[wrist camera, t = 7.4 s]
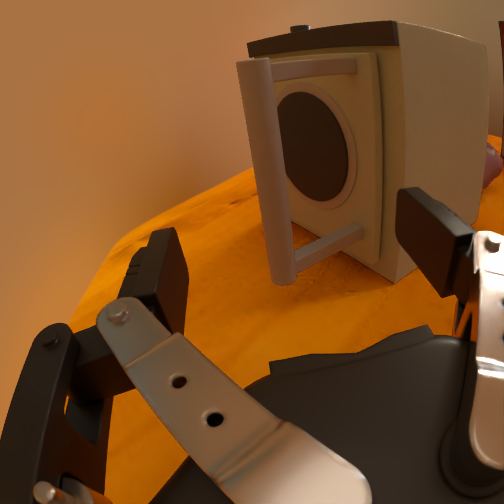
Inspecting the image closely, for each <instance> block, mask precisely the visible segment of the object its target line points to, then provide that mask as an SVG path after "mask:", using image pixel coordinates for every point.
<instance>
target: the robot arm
mask: <svg viewBox="0 0 504 504" xmlns="http://www.w3.org/2000/svg"><path fill="white" fill-rule="evenodd" d="M395 235H396V238H397V241H398V243H399V244H400V245H401V246H402V248H403V249H404V250H405V251H406V253H407V254H408V255H409V256H410V258H411V259H412V260H413V261H414V263H415V264H416V265H417V266H418V268H419V269H420V270H421V271H422V273H423V274H424V275H425V277H426V278H427V279H428V281H429V282H430V283H431V284H432V286H433V287H434V288H435V290H436V291H437V293H438V294H439V295H440V297H441V298H444V297H448V296H451V295H454V294H455V295H456V297H457V302H456V305H455V313H454V321H453V328H452V334H451V336H447V335H433V333H432V331H431V330H430V328H429V326H428V325H427V324H426V325H423V326H420V327H416V328H413V329H410V330H406V331H403V332H399V333H396V334H393V335H391V336H389V337H387V338H385V339H383V340H381V341H380V342H378V343H376V344H374V345H372V346H370V347H368V348H366V349H364V350H362V351H360V352H357V353H339V354H308V355H303V356H298V357H293V358H287V359H282V360H276V361H271V362H269V367H270V373H271V374H270V375H267V376H265V377H262V378H261V379H259V380H257V381H255V382H253V383H252V384H250V385H249V386H247V387H245V388H244V389H242V388H241V387H239V386H238V385H237V384H236V383H235V382H234V381H233V380H231V379H230V378H229V377H228V376H227V375H226V374H225V373H223V372H222V371H221V370H220V369H219V368H218V367H217V366H216V365H214V364H213V363H212V362H211V361H210V360H209V359H208V358H207V357H206V356H204V355H203V354H202V353H201V352H200V351H199V350H198V349H197V348H196V347H195V346H194V345H193V344H192V343H191V342H189V341H188V340H187V339H186V338H185V337H184V325H185V315H186V305H187V296H188V287H189V273H188V268H187V264H186V261H185V258H184V255H183V251H182V248H181V245H180V242H179V238H178V235H177V232H176V230H175V228H174V227H171V228H166V229H161V230H156V231H153V232H152V234H151V236H150V239H149V242H148V245H147V247H142V248H140V249H139V250H138V251H137V252H136V253H135V255H134V256H133V257H132V259H131V261H130V264H129V268H128V269H127V272H126V276H125V277H124V280H123V283H122V286H121V288H120V291H119V294H118V297H117V299H116V300H114V301H112V302H110V303H109V304H107V305H106V306H105V307H104V308H103V309H102V310H101V311H100V312H99V314H98V316H97V318H96V325H94V326H92V327H90V328H87V329H84V330H82V331H79V332H77V333H74V334H73V332H72V331H71V329H70V328H69V326H68V325H66V324H64V323H56V324H52V325H50V326H48V327H46V328H44V329H43V330H42V331H41V332H40V333H39V334H38V335H37V336H36V338H35V339H34V341H33V343H32V346H31V348H30V351H29V353H28V356H27V358H26V361H25V364H24V366H23V369H22V371H21V374H20V377H19V380H18V383H17V386H16V389H15V392H14V394H13V397H12V401H11V404H10V407H9V410H8V413H7V417H6V420H5V424H4V427H3V431H2V435H1V439H0V504H113V503H112V502H111V501H110V500H109V499H108V498H107V497H106V496H104V492H105V474H106V461H107V449H108V439H109V430H110V421H111V413H112V405H113V398H114V396H115V395H118V394H121V393H124V392H127V391H130V390H133V389H135V388H137V390H138V391H139V392H140V394H141V395H142V397H143V398H144V399H145V401H146V402H147V403H148V405H149V406H150V407H151V409H152V410H153V411H154V413H155V414H156V415H157V417H158V418H159V419H160V420H161V422H162V423H163V424H164V425H165V427H166V428H167V429H168V430H169V432H170V433H171V434H172V435H173V437H174V438H175V439H176V440H177V441H178V443H179V444H180V445H181V446H182V447H183V449H184V450H185V451H186V452H187V453H188V454H189V455H188V457H187V458H186V459H185V460H184V462H183V463H182V464H181V465H180V467H179V468H178V469H177V470H176V471H175V473H174V474H173V475H172V476H171V478H170V479H169V480H168V481H167V482H166V484H165V485H164V486H163V487H162V488H161V489H160V491H159V492H158V493H157V494H156V495H155V497H154V498H153V499H152V500H151V501H150V502H149V503H148V504H504V237H503V236H502V235H500V234H497V233H495V232H491V231H480V232H477V231H476V230H474V229H473V228H472V227H471V226H470V225H469V224H468V223H466V222H465V221H464V220H463V219H462V218H461V217H458V215H457V214H456V213H455V212H453V211H451V209H450V208H449V207H447V206H446V205H445V204H444V203H442V202H440V201H438V200H436V199H433V198H432V197H431V196H430V195H428V194H427V193H426V192H425V191H423V190H422V189H421V188H419V187H410V188H402V189H399V190H398V192H397V198H396V215H395ZM67 396H68V397H69V400H68V404H67V409H66V413H65V414H64V406H65V401H66V397H67Z"/></svg>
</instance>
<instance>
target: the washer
mask: <svg viewBox="0 0 504 504" xmlns="http://www.w3.org/2000/svg"><path fill="white" fill-rule="evenodd" d="M290 31H291V33H288V34H283V35H278V36H274V37H269V38H265V39H261V40H257V41H253V42H249V43H247V48H248V53H249V57H250V58H252V57H254V59H259V58H269V59H277V58H285V57H294V56H305V55H318V54H334V53H376V54H377V64H378V74H379V86H380V101H381V120H382V162H383V171H382V214H381V234H380V249H379V260H378V262H376V263H374V264H373V265H371V264H370V263H368V262H366V261H365V260H363V259H361V258H360V257H358V256H356V255H355V254H353V253H351V252H350V251H348V250H346V249H343V250H341V251H343V252H344V253H346V254H347V255H349V256H351V257H352V258H354V259H356V260H357V261H359V262H360V263H362V264H364V265H365V266H367V267H368V268H370V269H372V270H373V271H375V272H376V273H378V274H380V275H381V276H383V277H384V278H386V279H387V280H389V281H391V282H392V283H394V284H395V283H396V282H398V281H399V280H401V279H402V278H403V277H405V276H406V275H408V274H409V273H410V272H412V271H413V270H414V269H416V268H417V267H418V266H417V265H416V264H415V263H414V261H413V260H412V259H411V258H410V256H409V255H408V254H407V253H406V251H405V250H404V249H403V248H402V246H401V245H400V244H399V243H398V241H397V238H396V235H395V215H396V198H397V192H398V190H399V189H402V188H410V187H419V188H421V189H422V190H423V191H425V192H426V193H427V194H428V195H430V196H431V197H432V198H433V199H436V200H438V201H440V202H442V203H444V204H445V205H446V206H447V207H449V208H450V209H451V211H453V212H455V213H456V214H457V215H458V217H461V218H462V219H463V220H464V221H465V222H466V223H468V224H469V225H471V224H472V223H474V222H475V221H476V220H477V217H478V211H479V205H480V199H481V193H482V186H483V178H484V170H485V160H486V150H487V136H488V113H489V82H488V81H489V80H488V59H487V46H486V45H485V44H483V43H480V42H477V41H474V40H471V39H468V38H465V37H461V36H458V35H455V34H451V33H448V32H444V31H440V30H436V29H432V28H428V27H424V26H420V25H415V24H410V23H406V22H400V21H376V22H363V23H353V24H344V25H336V26H329V27H322V28H316V29H310V26H309V25H298V26H292V27H290ZM291 221H293V222H294V223H296V224H298V225H299V226H301V227H303V228H304V229H306V230H308V231H309V232H311V233H313V234H314V235H316V236H318V237H320V238H322V237H324V236H323V235H321V234H320V233H318V232H316V231H314V230H313V229H311V228H309V227H307V226H306V225H304V224H302V223H301V222H299V221H297V220H295V219H294V218H292V217H291Z"/></svg>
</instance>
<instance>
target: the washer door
mask: <svg viewBox="0 0 504 504" xmlns="http://www.w3.org/2000/svg"><path fill="white" fill-rule="evenodd" d="M236 67H237V72H238V78H239V84H240V90H241V95H242V101H243V107H244V113H245V118H246V124H247V131H248V136H249V142H250V148H251V154H252V161H253V167H254V173H255V179H256V185H257V191H258V197H259V204H260V210H261V216H262V223H263V229H264V235H265V242H266V248H267V255H268V261H269V268H270V274H271V280H272V282H273V283H274V284H276V285H278V286H287V285H290V284H292V283H293V282H294V281H295V280H296V277H297V276H296V274H297V273H299V272H301V271H303V270H304V269H306V268H308V267H310V266H312V265H314V264H316V263H318V262H320V261H322V260H324V259H326V258H328V257H329V256H331V255H333V254H335V253H337V252H339V251H341V250H343V249H346V250H348V251H350V252H351V253H353V254H355V255H356V256H358V257H360V258H361V259H363V260H365V261H366V262H368V263H370V264H371V265H373V264H374V263H376V262H378V260H379V249H380V234H381V214H382V171H383V162H382V120H381V101H380V86H379V74H378V64H377V54H376V53H334V54H318V55H305V56H294V57H285V58H277V59H269V58H259V59H252V60H245V61H240V62H236ZM291 217H292V218H294V219H295V220H297V221H299V222H301V223H302V224H304V225H306V226H307V227H309V228H311V229H313V230H314V231H316V232H318V233H320V234H321V235H323V236H324V237H322V238H319V239H317V240H315V241H313V242H311V243H309V244H307V245H305V246H303V247H301V248H299V249H296V250H294V245H293V235H292V225H291Z"/></svg>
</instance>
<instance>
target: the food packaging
mask: <svg viewBox="0 0 504 504" xmlns="http://www.w3.org/2000/svg"><path fill="white" fill-rule="evenodd" d="M498 23H499V28H500V37H501V46H502V59H503V80H504V21H499V22H498ZM500 157H502V158H504V118H503V137H502V148H501V156H500Z"/></svg>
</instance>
